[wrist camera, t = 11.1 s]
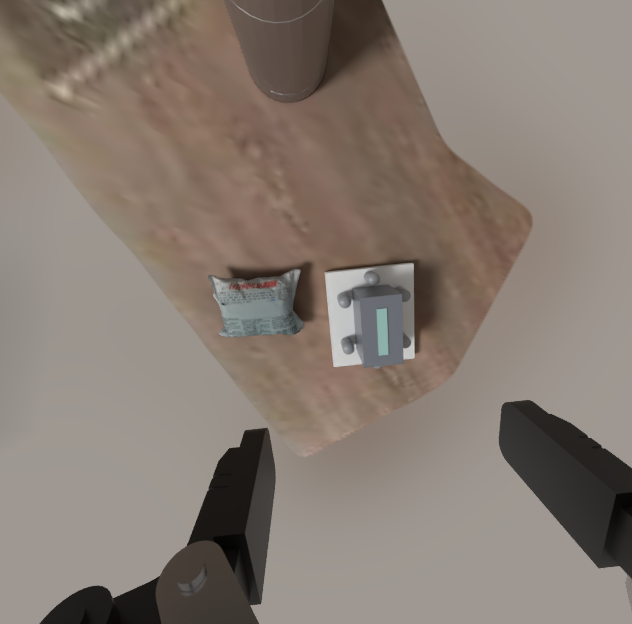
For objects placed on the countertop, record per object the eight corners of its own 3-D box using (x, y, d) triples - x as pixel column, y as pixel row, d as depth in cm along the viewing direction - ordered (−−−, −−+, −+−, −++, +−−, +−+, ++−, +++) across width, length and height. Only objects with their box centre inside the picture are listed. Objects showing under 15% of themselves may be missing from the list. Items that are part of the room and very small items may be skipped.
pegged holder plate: (324, 271, 41) (326, 275, 37) (410, 262, 41) (420, 265, 37) (333, 363, 44) (335, 375, 41) (411, 354, 45) (420, 365, 41)
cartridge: (351, 288, 40) (359, 298, 34) (388, 284, 40) (402, 294, 34) (356, 348, 43) (364, 368, 37) (390, 344, 43) (403, 363, 37)
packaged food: (214, 272, 40) (202, 278, 36) (301, 267, 40) (300, 272, 36) (224, 331, 43) (214, 344, 38) (305, 326, 43) (305, 339, 38)
